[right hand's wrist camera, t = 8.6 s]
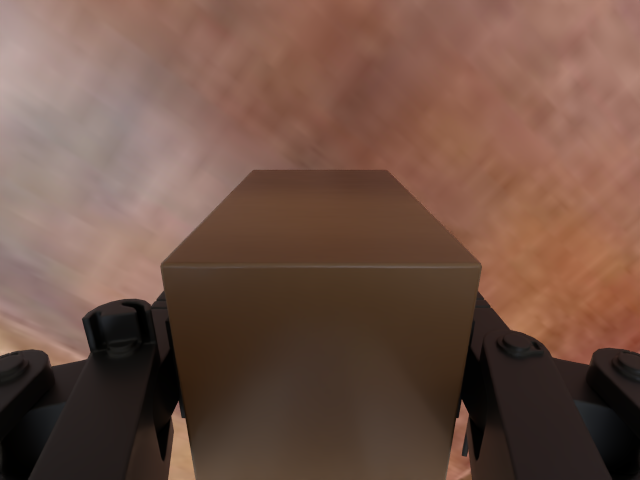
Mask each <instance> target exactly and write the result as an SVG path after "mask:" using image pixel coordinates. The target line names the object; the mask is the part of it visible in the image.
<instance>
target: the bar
mask: <svg viewBox="0 0 640 480" xmlns="http://www.w3.org/2000/svg"><path fill="white" fill-rule="evenodd" d="M481 268H482V266H481V263H480V262H479V261H478V260H477V259H476V258H475V257H474V256H473V255H472V254H471V253H470V252H469V251H468V250H467V249H466V248H465V247H464V246H463V245H462V244H461V243H460V242H459V241H458V240H457V239H456V238H455V237H454V236H453V235H452V234H451V233H450V232H449V231H448V230H447V229H446V228H445V227H444V226H443V225H442V224H441V223H440V222H439V221H438V220H437V219H436V218H435V217H434V216H433V215H432V214H431V213H430V212H429V211H428V210H427V209H426V208H425V207H424V206H423V205H422V204H421V203H420V202H419V201H418V200H417V199H416V198H415V197H414V196H413V195H412V194H411V193H410V192H409V191H408V190H407V189H406V188H405V187H404V186H402V185H401V184H400V183H399V182H398V181H397V180H396V179H395V178H394V177H393V176H392V175H391V174H390V173H389V172H388V171H387V170H253V171H252V172H251V173H250V174H249V175H248V176H247V177H246V178H245V179H244V180H243V181H242V182H241V183H240V184H239V185H238V186H237V187H236V188H235V189H234V190H233V191H232V192H231V193H230V194H229V195H228V196H227V197H226V198H225V199H224V200H223V201H222V202H221V203H220V204H219V205H218V206H217V207H216V208H215V209H214V210H213V211H212V212H211V213H210V214H209V215H208V216H207V217H206V219H205V220H204V221H203V222H202V223H201V224H200V225H199V226H198V227H197V228H196V229H195V230H194V231H193V232H192V233H191V234H190V235H189V236H188V237H187V238H186V239H185V240H184V241H183V242H182V243H181V244H180V245H179V246H178V247H177V248H176V249H175V250H174V251H173V252H172V253H171V254H170V255H169V256H168V257H167V258H166V259H165V260H164V261H163V262H162V263H161V273H162V279H163V285H164V291H165V297H166V303H167V309H168V315H169V321H170V327H171V333H172V339H173V346H174V352H175V358H176V364H177V370H178V376H179V382H180V388H181V394H182V400H183V406H184V412H185V418H186V424H187V430H188V436H189V442H190V448H191V454H192V460H193V466H194V472H195V478H196V480H446V475H447V469H448V463H449V457H450V451H451V445H452V440H453V434H454V428H455V422H456V416H457V410H458V404H459V398H460V392H461V386H462V381H463V375H464V369H465V363H466V357H467V351H468V345H469V339H470V333H471V327H472V322H473V316H474V310H475V304H476V298H477V292H478V286H479V280H480V274H481Z"/></svg>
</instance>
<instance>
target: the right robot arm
mask: <svg viewBox="0 0 640 480" xmlns="http://www.w3.org/2000/svg"><path fill="white" fill-rule="evenodd" d="M82 321H83V325H84V329H85V332H86V336H87V340H88V344H89V347H90V351H91V353H90V355H89V357H88V359H86V360H82V361H78V362H72V363H67V364H62V365H57V366H52V367H51V364H50V360H49V357H48V355H47V354H46V353H44V352H43V351H40V350H23V351H15V352H11V353H10V354H9V353H8V354H5V355H2V356H0V480H168V475H169V467H170V459H171V451H172V442H173V434H174V429H173V423H172V417H171V415H172V413H173V411H174V409H175V407H176V405H177V403H178V401H179V405H180V411H181V416H182V418H185V412H184V406H183V400H182V394H181V388H180V382H179V376H178V370H177V364H176V358H175V352H174V346H173V339H172V333H171V327H170V321H169V315H168V309H167V303H166V297H165V291H163V292H162V293H161V295H160V296H159V297H158V298H157V301H155V302H154V303H153V304H152V306H151V305H150V304H149V303H148V302H146V301H144V300H139V299H123V300H118V301H113V302H109V303H107V304H104V305H101V306H98V307H97V308H95V309H93V310H92V311H90V312H88V313H87V314H86V315H85V316H84V317H83V318H82ZM461 400H463V402H464V405H465V407H466V409H467V411H468V413H469V417H468V423H467V428H466V434H465V439H464V444H463V450H462V456H466V457H467V453H468V450H469V458H470V466H471V474H472V480H640V354H638V353H635V352H630V351H629V350H624V349H615V348H604V349H598V350H597V351H595V352H594V353H593V355H592V358H591V361H590V365H586V364H581V363H576V362H571V361H566V360H561V359H557V358H553V357H552V356H551V354H550V352H549V351H548V350H547V348H546V347H545V346H544V345H543V344H542V343H541V342H539V341H538V340H536V339H535V338H533V337H531V336H528V335H526V334H524V333H521V332H517V331H512V330H510V329H509V328H508V327H507V325H506V324H505V323H504V322H503V321H502V319H501V318H500V317H499V316H498V315H497V313H496V312H495V311H494V310H493V309H492V308H490V305H489V304H488V303H487V301H486V300H484V298H483V297H482V295H481V294H480V293H479V292H477V298H476V304H475V310H474V316H473V322H472V327H471V333H470V339H469V345H468V351H467V357H466V363H465V369H464V375H463V381H462V386H461V392H460V398H459V404H458V410H457V416H456V418H459V412H460V406H461Z"/></svg>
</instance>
